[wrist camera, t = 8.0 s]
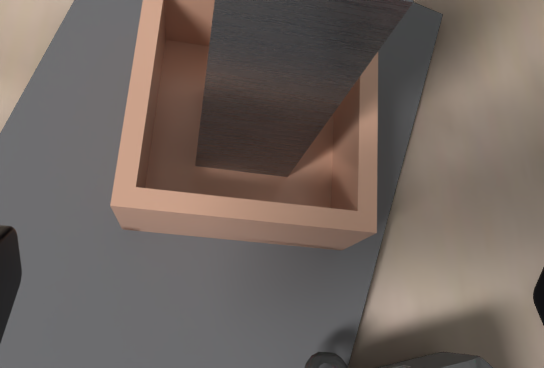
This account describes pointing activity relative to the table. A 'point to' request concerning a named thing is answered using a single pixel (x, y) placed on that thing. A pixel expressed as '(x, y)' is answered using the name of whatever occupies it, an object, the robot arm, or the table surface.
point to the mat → (169, 247)
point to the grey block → (283, 75)
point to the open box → (226, 183)
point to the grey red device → (408, 361)
